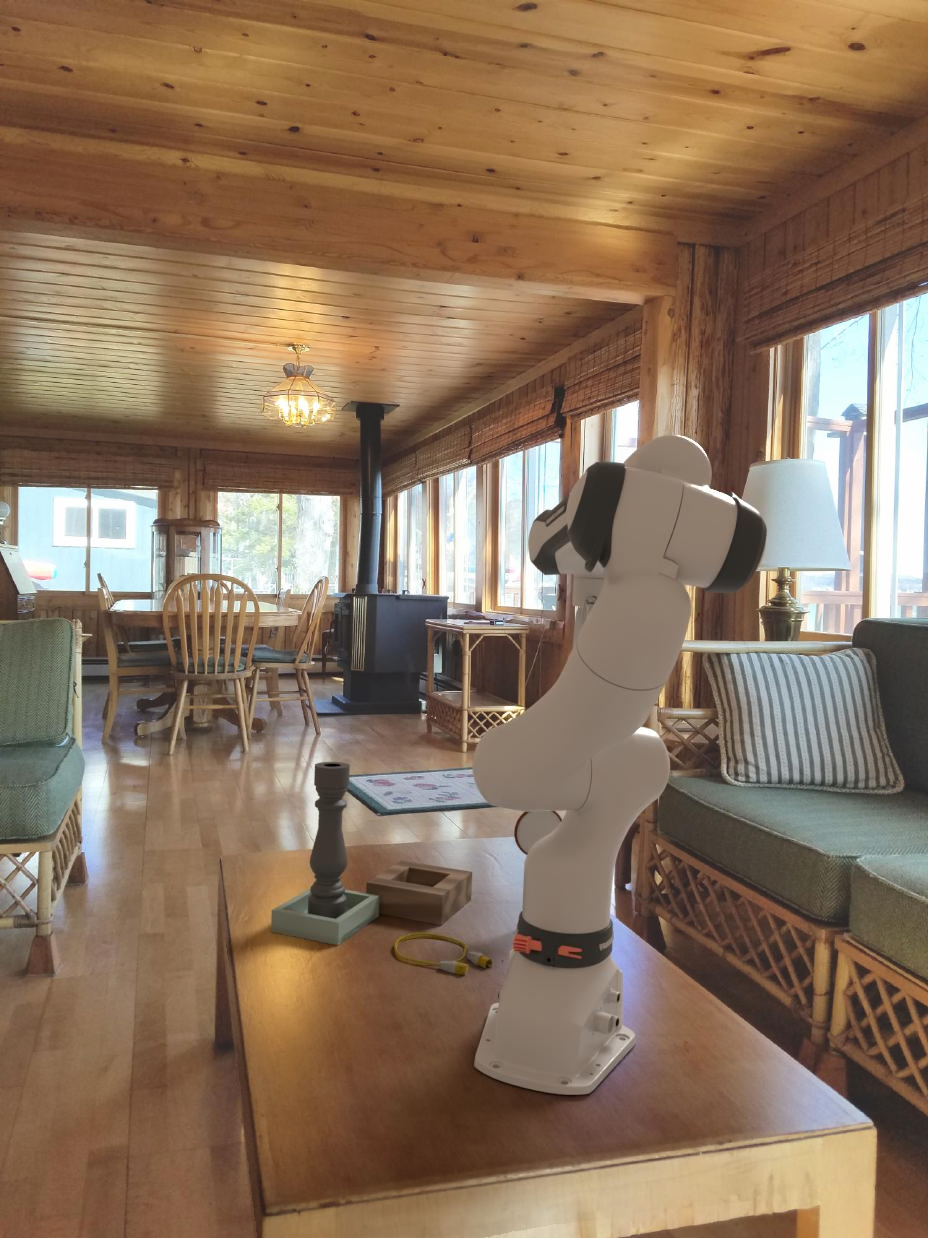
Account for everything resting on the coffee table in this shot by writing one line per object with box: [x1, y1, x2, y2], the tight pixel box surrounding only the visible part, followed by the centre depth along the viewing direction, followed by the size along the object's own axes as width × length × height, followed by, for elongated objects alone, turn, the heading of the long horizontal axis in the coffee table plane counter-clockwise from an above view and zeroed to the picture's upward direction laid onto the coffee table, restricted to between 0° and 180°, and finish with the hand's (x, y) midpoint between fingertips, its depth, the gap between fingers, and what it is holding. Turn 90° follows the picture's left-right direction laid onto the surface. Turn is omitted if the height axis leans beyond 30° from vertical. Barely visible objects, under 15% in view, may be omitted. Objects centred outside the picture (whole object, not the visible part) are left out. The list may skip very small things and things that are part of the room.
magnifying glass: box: [513, 811, 563, 856], centre depth 149 cm, size 9×2×20 cm, turn 102°
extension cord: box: [393, 932, 493, 976], centre depth 135 cm, size 12×16×2 cm
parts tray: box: [270, 888, 380, 946], centre depth 146 cm, size 14×12×4 cm
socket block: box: [365, 860, 473, 926], centre depth 157 cm, size 14×14×5 cm
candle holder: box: [308, 761, 351, 919], centre depth 146 cm, size 6×6×25 cm
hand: (595, 680), depth 148 cm, fingers open, 8 cm apart
